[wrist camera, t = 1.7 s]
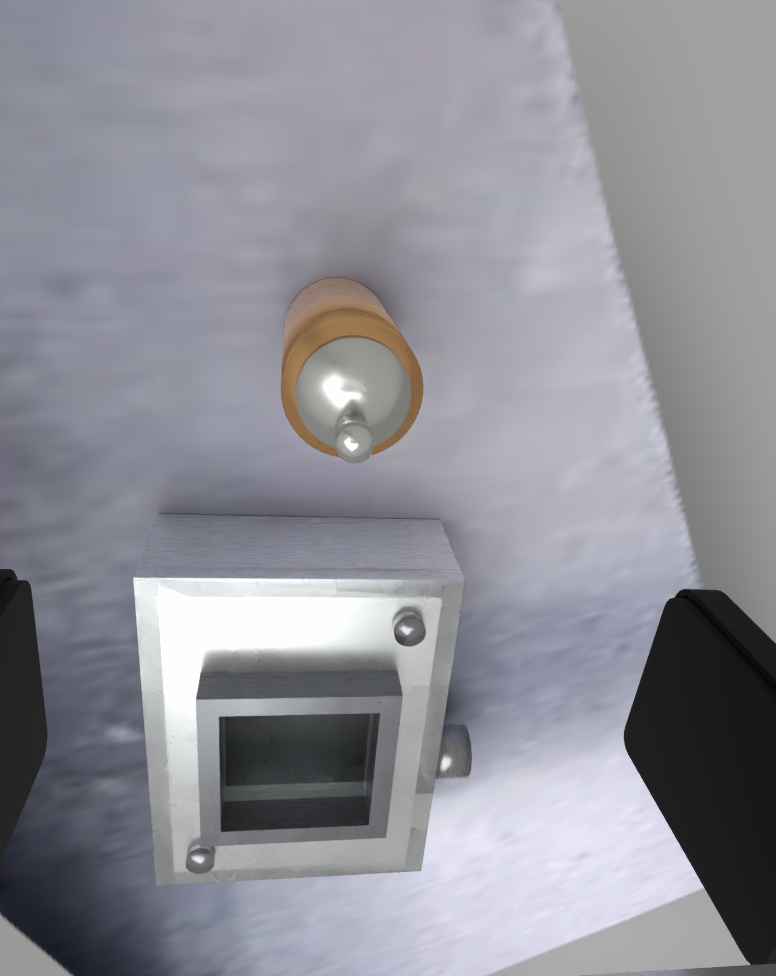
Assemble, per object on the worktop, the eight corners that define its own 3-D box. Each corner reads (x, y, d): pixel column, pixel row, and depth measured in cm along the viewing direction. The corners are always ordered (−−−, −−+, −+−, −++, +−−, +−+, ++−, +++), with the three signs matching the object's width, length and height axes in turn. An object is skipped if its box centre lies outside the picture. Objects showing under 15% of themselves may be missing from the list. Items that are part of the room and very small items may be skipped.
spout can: (285, 273, 26) (281, 328, 17) (392, 281, 26) (441, 337, 18) (282, 379, 27) (278, 477, 19) (384, 384, 28) (424, 482, 19)
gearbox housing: (158, 513, 29) (123, 601, 23) (483, 520, 31) (528, 602, 25) (173, 794, 35) (150, 918, 30) (442, 784, 38) (469, 898, 32)
